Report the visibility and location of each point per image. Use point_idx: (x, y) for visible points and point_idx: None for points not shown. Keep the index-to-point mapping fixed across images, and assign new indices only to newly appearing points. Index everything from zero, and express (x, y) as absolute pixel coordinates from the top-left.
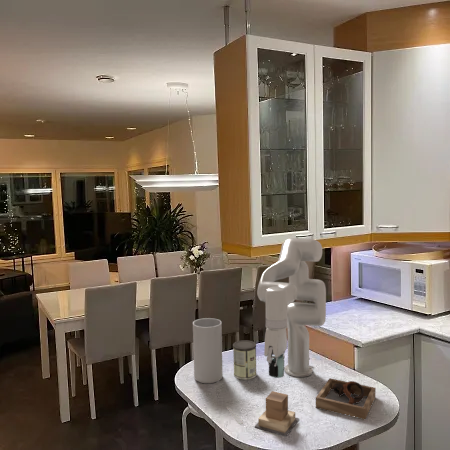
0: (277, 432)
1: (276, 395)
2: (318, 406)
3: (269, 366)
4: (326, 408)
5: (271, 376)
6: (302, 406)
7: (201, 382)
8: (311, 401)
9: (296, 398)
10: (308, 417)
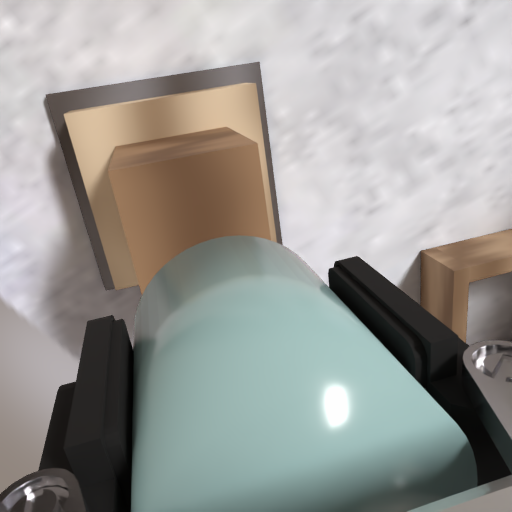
0: (93, 240)
1: (212, 215)
2: (426, 267)
3: (75, 425)
4: (425, 302)
5: (137, 312)
6: (403, 193)
7: None
8: (466, 203)
9: (464, 122)
10: (323, 271)
